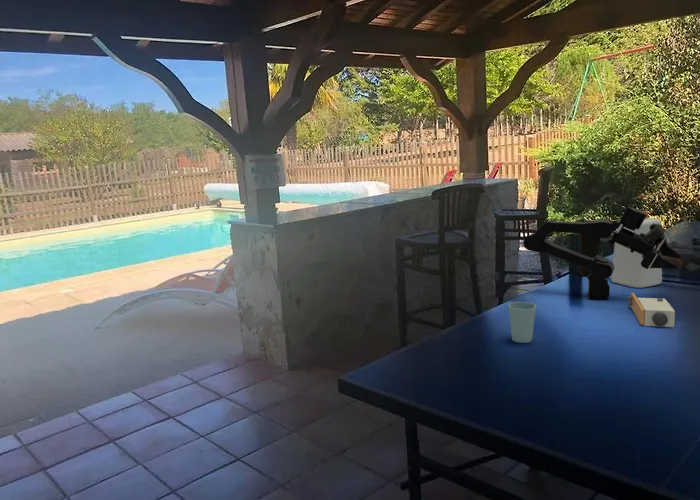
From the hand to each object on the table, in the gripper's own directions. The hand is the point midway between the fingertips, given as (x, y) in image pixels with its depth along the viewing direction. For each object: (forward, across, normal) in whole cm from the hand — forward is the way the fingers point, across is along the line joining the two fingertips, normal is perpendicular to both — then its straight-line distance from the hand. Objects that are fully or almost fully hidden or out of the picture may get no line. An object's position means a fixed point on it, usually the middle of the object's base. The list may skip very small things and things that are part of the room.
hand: (678, 262), depth 190 cm
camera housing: (+1, -23, +11) cm, 25 cm away
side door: (-4, -22, +13) cm, 26 cm away
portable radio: (-24, +28, +34) cm, 50 cm away
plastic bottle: (-7, +22, +25) cm, 34 cm away
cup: (-28, -59, +17) cm, 68 cm away
